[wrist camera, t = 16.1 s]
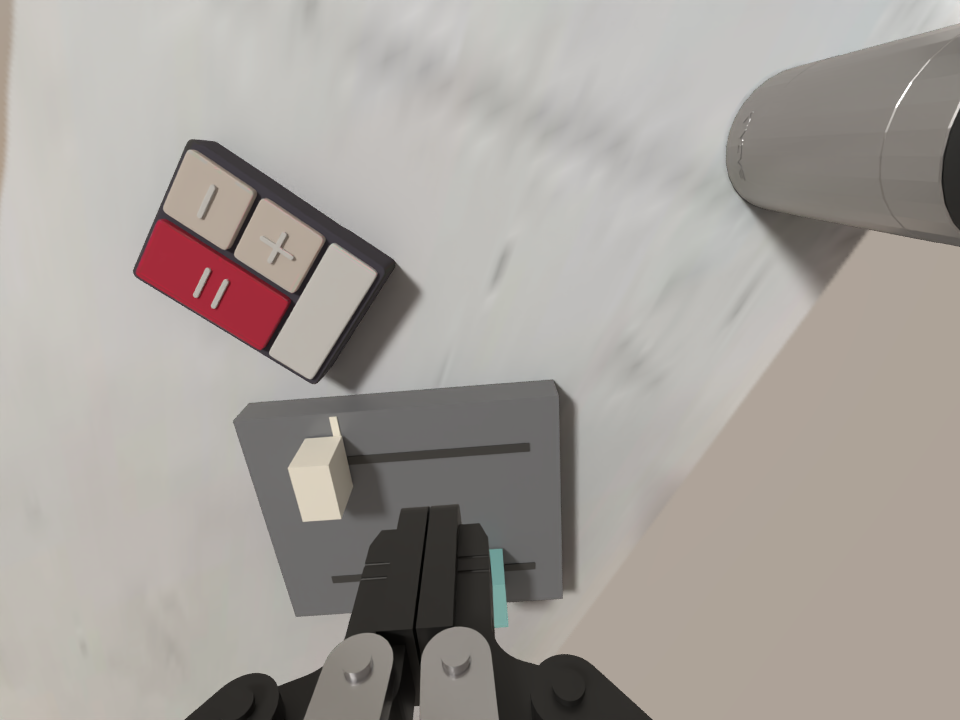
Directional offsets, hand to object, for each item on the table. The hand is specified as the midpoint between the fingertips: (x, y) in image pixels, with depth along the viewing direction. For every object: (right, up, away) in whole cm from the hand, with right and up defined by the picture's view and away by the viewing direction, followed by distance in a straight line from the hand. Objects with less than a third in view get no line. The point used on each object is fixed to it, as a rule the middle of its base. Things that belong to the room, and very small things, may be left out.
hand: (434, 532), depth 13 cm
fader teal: (+2, -15, +32) cm, 36 cm away
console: (-5, -8, +33) cm, 34 cm away
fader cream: (-11, -4, +27) cm, 30 cm away
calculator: (-14, +12, +25) cm, 31 cm away
